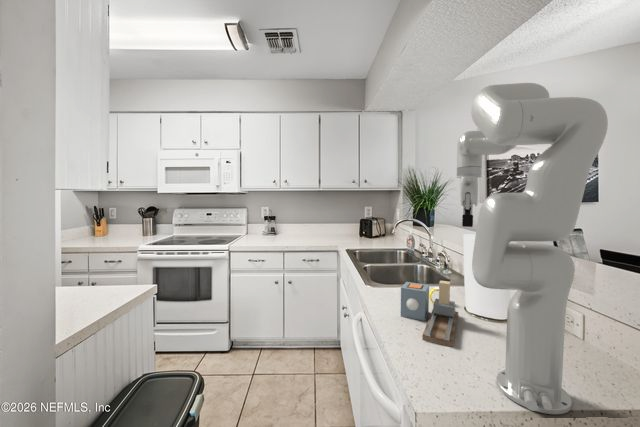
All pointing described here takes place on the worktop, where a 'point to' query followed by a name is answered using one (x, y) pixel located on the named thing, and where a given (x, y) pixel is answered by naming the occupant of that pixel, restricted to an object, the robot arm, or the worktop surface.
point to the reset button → (415, 286)
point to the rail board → (441, 329)
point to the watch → (432, 292)
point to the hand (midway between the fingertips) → (467, 226)
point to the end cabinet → (415, 301)
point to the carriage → (444, 300)
